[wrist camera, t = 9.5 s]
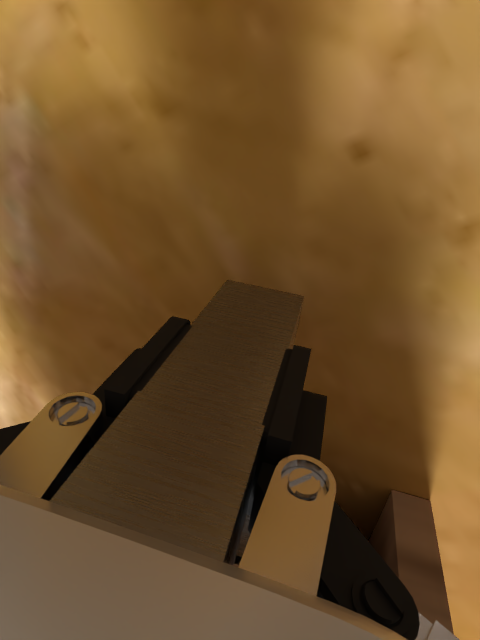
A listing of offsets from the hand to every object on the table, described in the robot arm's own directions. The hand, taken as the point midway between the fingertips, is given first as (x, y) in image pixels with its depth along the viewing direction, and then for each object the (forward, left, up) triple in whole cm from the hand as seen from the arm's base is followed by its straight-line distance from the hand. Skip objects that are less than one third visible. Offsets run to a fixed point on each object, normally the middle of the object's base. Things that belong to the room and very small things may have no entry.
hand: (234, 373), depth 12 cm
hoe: (+6, 0, -4) cm, 7 cm away
